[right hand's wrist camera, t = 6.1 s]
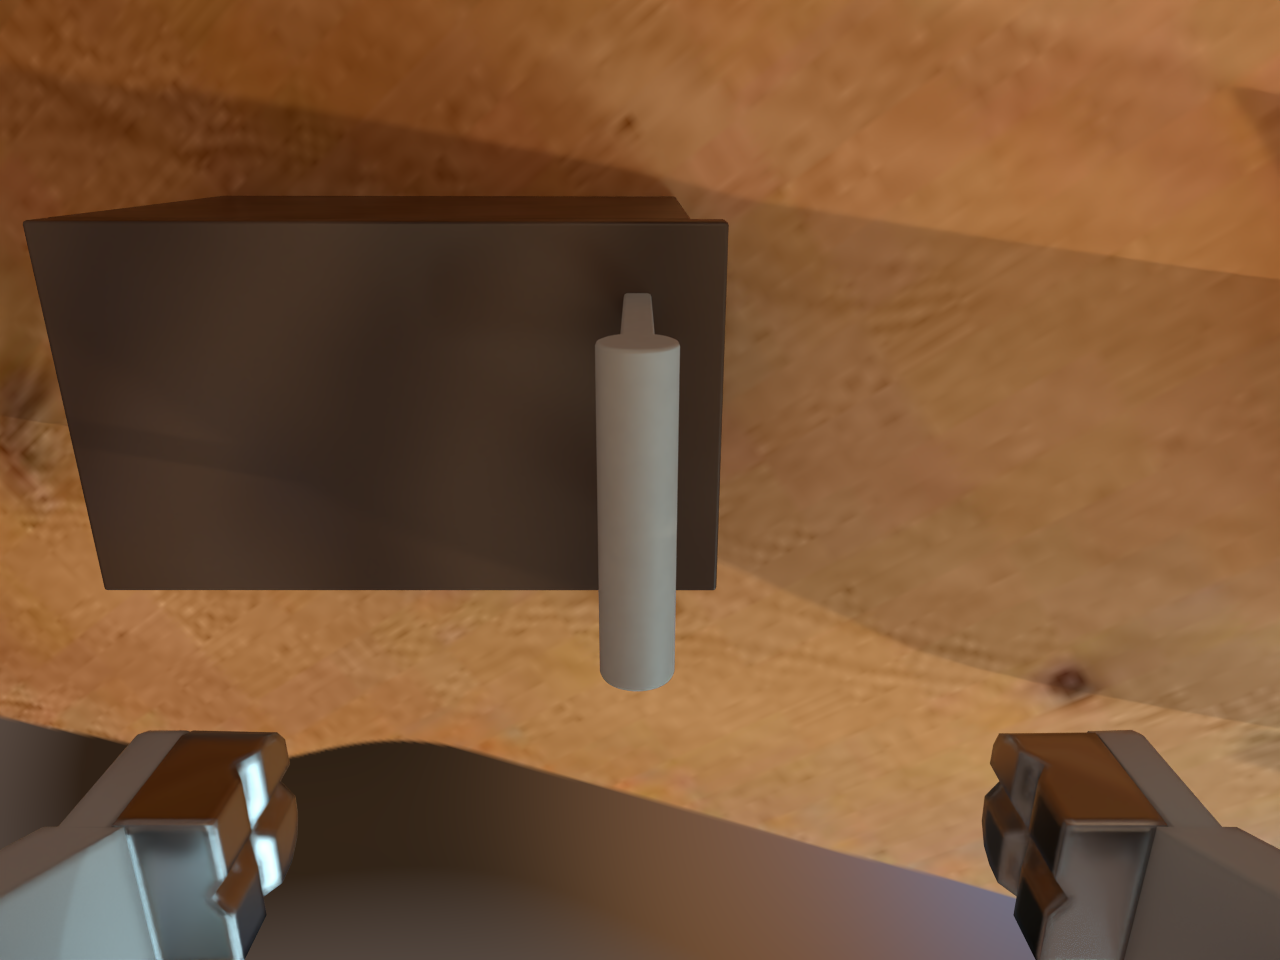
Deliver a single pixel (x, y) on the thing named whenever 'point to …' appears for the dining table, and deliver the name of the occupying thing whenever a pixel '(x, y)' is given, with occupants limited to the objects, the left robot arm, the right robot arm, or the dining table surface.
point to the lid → (399, 406)
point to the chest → (405, 208)
